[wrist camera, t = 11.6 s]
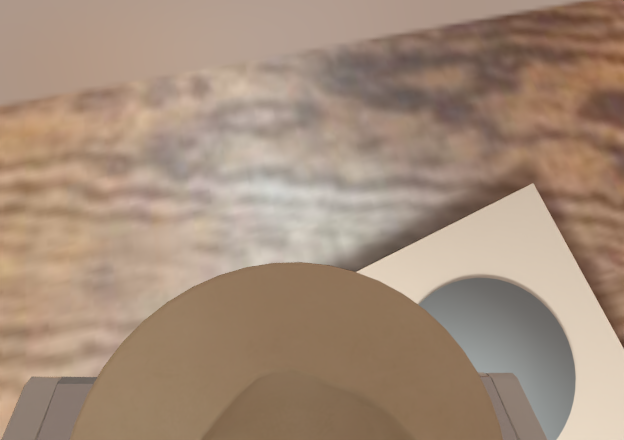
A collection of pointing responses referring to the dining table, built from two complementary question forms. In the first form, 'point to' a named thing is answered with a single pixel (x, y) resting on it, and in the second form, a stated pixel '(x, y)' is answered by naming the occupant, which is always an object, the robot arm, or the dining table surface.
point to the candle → (289, 366)
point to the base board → (520, 311)
